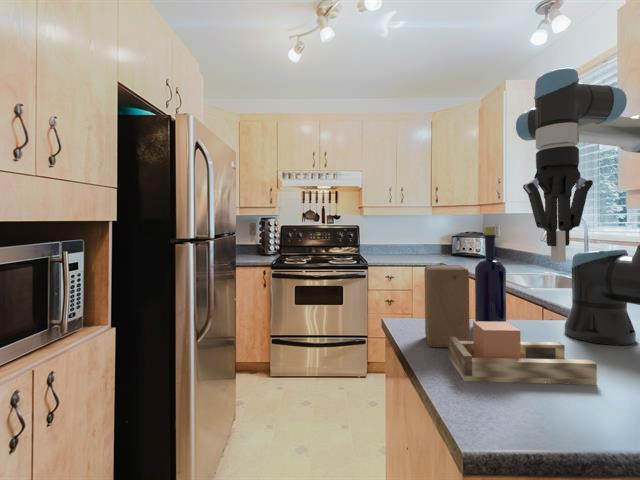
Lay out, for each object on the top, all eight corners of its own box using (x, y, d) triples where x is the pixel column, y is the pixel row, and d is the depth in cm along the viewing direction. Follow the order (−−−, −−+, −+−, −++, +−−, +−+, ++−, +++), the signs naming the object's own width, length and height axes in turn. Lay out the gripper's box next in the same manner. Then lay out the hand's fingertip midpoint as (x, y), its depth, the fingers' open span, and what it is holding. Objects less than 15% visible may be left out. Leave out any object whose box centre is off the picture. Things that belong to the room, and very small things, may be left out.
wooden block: (470, 349, 90) (469, 268, 89) (428, 347, 92) (427, 268, 91) (463, 337, 100) (462, 264, 99) (425, 336, 102) (424, 264, 101)
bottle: (514, 331, 104) (513, 226, 103) (481, 332, 104) (480, 227, 103) (498, 323, 113) (498, 226, 112) (468, 323, 114) (467, 227, 113)
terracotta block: (506, 357, 80) (506, 321, 80) (520, 370, 73) (520, 330, 73) (473, 357, 81) (473, 321, 81) (484, 369, 74) (483, 330, 74)
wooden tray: (559, 359, 82) (559, 337, 82) (596, 384, 69) (596, 358, 69) (448, 357, 85) (448, 336, 84) (464, 381, 72) (464, 356, 72)
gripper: (578, 150, 79) (580, 259, 80) (516, 153, 80) (517, 260, 81) (602, 142, 72) (603, 262, 73) (532, 146, 73) (534, 264, 74)
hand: (558, 261), depth 77 cm, fingers closed
